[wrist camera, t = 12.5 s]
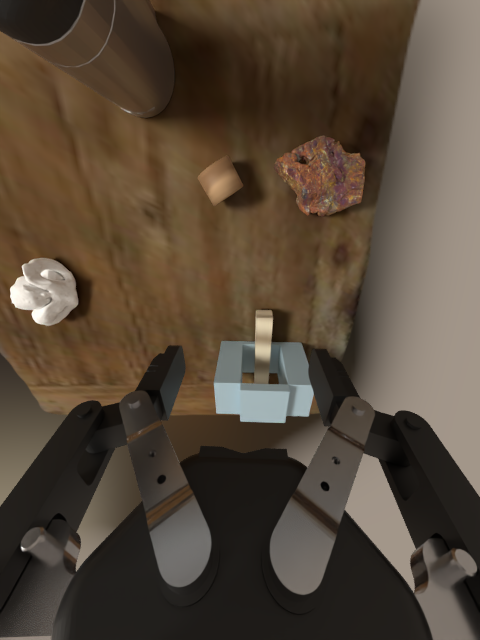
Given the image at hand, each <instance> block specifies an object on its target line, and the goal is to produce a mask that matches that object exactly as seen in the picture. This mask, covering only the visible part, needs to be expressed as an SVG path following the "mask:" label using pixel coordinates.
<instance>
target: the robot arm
mask: <svg viewBox="0 0 480 640" xmlns="http://www.w3.org/2000/svg"><path fill="white" fill-rule="evenodd" d="M0 31H1V32H3V33H4V34H6V35H7V36H9V37H11V38H12V39H14V40H15V41H17V42H18V43H20V44H22V45H23V46H25V47H26V48H28V49H29V50H31V51H33V52H34V53H36V54H37V55H39V56H40V57H42V58H44V59H45V60H47V61H48V62H50V63H51V64H53V65H55V66H56V67H58V68H59V69H61V70H62V71H64V72H66V73H67V74H69V75H70V76H72V77H73V78H75V79H77V80H78V81H80V82H81V83H83V84H84V85H86V86H87V87H89V88H91V89H92V90H94V91H95V92H97V93H98V94H100V95H102V96H103V97H105V98H106V99H108V100H109V101H111V102H112V103H114V104H116V105H117V106H119V107H120V108H121V109H123V110H124V111H126V112H128V113H130V114H132V115H134V116H137V117H142V118H148V117H153V116H155V115H157V114H159V113H160V112H161V111H162V110H164V109H165V107H166V106H167V104H168V103H169V101H170V98H171V96H172V93H173V88H174V80H175V70H174V62H173V58H172V54H171V50H170V47H169V45H168V43H167V40H166V38H165V36H164V34H163V33H162V31H161V29H160V27H159V25H158V24H157V21H156V14H155V10H154V8H153V7H152V5H151V3H150V1H149V0H0ZM184 374H185V360H184V355H183V349H182V346H171V345H169V346H168V347H167V349H166V351H165V353H164V354H161V353H160V354H159V355H157V356H156V357H155V358H154V359H153V360H152V362H151V364H150V367H148V369H147V372H146V373H145V374H144V376H143V378H142V380H141V381H140V383H139V385H138V387H137V388H136V390H135V391H134V392H131V393H129V394H127V395H126V396H125V397H124V398H123V399H122V400H121V401H120V402H119V403H115V404H111V405H107V406H103V407H102V406H101V404H100V403H99V402H98V401H93V400H92V401H87V402H84V403H81V404H79V405H78V406H76V407H75V408H74V409H73V410H72V411H71V412H70V413H69V414H68V416H67V417H66V418H65V420H64V421H63V422H62V424H61V425H60V427H59V428H58V429H57V431H56V432H55V433H54V435H53V436H52V437H51V439H50V440H49V441H48V443H47V444H46V446H45V447H44V448H43V450H42V451H41V452H40V454H39V455H38V456H37V458H36V459H35V460H34V462H33V463H32V464H31V466H30V467H29V469H28V470H27V471H26V473H25V474H24V475H23V477H22V478H21V479H20V481H19V482H18V483H17V485H16V486H15V487H14V489H13V490H12V492H11V493H10V494H9V496H8V497H7V498H6V500H5V501H4V502H3V504H2V505H1V506H0V640H480V497H479V496H478V494H477V493H476V491H475V490H474V488H473V487H472V485H471V484H470V483H469V481H468V480H467V478H466V477H465V476H464V474H463V473H462V471H461V470H460V468H459V467H458V465H457V464H456V463H455V461H454V460H453V458H452V457H451V455H450V454H449V452H448V451H447V450H446V448H445V447H444V445H443V444H442V442H441V441H440V440H439V438H438V437H437V435H436V434H435V432H434V431H433V429H432V428H431V427H430V425H429V424H428V423H427V422H426V421H425V420H424V419H423V418H422V417H420V416H419V415H417V414H415V413H412V412H410V411H398V412H397V413H396V414H395V416H391V415H388V414H385V413H381V412H378V411H375V410H374V409H373V407H372V406H371V405H370V404H369V403H368V402H367V401H365V400H363V399H361V398H360V397H359V395H358V393H357V391H356V389H355V387H354V386H353V384H352V382H351V380H350V378H349V377H348V374H347V372H346V371H345V369H344V367H343V365H342V363H341V362H340V361H338V360H337V359H336V358H330V355H329V353H328V351H327V350H326V349H313V350H312V353H311V358H310V363H309V368H308V375H309V379H310V383H311V386H312V389H313V392H314V395H315V399H316V402H317V405H318V408H319V411H320V415H321V417H322V421H323V424H324V426H330V427H329V428H328V429H327V431H326V433H325V435H324V437H323V439H322V441H321V443H320V445H319V446H318V448H317V450H316V452H315V454H314V456H313V458H312V460H311V462H310V464H309V466H308V468H307V467H306V466H305V465H303V464H302V463H301V462H299V461H297V460H295V459H293V458H290V457H288V455H287V449H269V448H265V449H261V450H256V451H252V452H248V453H240V452H237V451H233V450H230V449H227V448H224V447H214V446H201V447H200V452H199V453H198V454H195V455H192V456H190V457H188V458H186V459H184V460H183V461H181V462H180V463H179V461H178V459H177V456H176V454H175V452H174V449H173V447H172V445H171V443H170V440H169V438H168V436H167V433H166V431H165V429H164V427H163V425H162V422H161V420H168V419H169V416H170V413H171V411H172V408H173V405H174V402H175V399H176V397H177V394H178V391H179V388H180V385H181V382H182V380H183V377H184ZM124 445H128V448H129V452H130V456H131V460H132V464H133V467H134V471H135V474H136V479H137V482H138V486H139V490H140V494H141V498H142V502H141V503H140V504H139V505H138V506H137V507H136V508H135V509H134V510H133V511H132V512H131V513H130V514H129V515H128V516H127V517H126V518H125V519H124V520H123V521H122V522H121V523H120V524H119V526H118V527H117V528H116V529H115V530H114V531H113V532H112V533H111V534H110V535H109V536H108V537H107V538H106V539H105V540H104V541H103V542H102V543H101V544H100V545H99V546H98V547H97V548H96V549H95V550H94V551H93V552H92V554H91V555H90V556H89V557H88V558H87V559H86V560H85V561H84V562H83V564H82V565H81V566H80V568H79V569H78V570H77V572H76V562H77V558H78V555H79V552H80V548H81V538H80V536H79V534H78V533H77V530H78V528H79V525H80V523H81V521H82V519H83V517H84V514H85V512H86V510H87V508H88V506H89V504H90V502H91V499H92V497H93V495H94V493H95V491H96V488H97V486H98V484H99V482H100V480H101V478H102V476H103V473H104V471H105V469H106V467H107V464H108V463H109V460H110V458H111V456H112V453H113V452H114V450H115V448H117V447H120V446H124ZM363 453H365V454H368V455H370V456H373V457H376V458H378V459H379V462H380V464H381V466H382V469H383V471H384V473H385V476H386V478H387V481H388V483H389V485H390V488H391V490H392V492H393V495H394V497H395V500H396V502H397V505H398V507H399V509H400V511H401V514H402V517H403V519H404V521H405V524H406V526H407V528H408V531H409V533H410V536H411V538H412V540H413V543H414V545H415V548H416V550H415V551H414V552H413V553H412V555H411V558H410V566H411V570H412V574H413V578H414V583H415V590H414V593H413V591H412V590H411V588H410V587H409V585H408V584H407V582H406V581H405V580H404V578H403V577H402V576H401V574H400V573H399V572H398V571H397V570H396V569H395V568H394V566H393V565H392V564H391V563H390V562H389V561H388V560H387V558H386V557H385V556H384V555H383V554H382V552H381V551H380V550H379V549H378V548H377V547H376V546H375V544H374V543H373V542H372V541H371V540H370V539H369V537H368V536H367V535H366V534H365V533H364V532H363V530H362V529H361V528H360V527H359V526H358V525H357V523H356V522H355V521H354V520H353V519H352V518H351V516H350V515H349V514H348V513H347V512H346V511H345V510H344V509H345V506H346V503H347V500H348V497H349V494H350V491H351V488H352V486H353V483H354V479H355V477H356V473H357V471H358V468H359V465H360V462H361V459H362V456H363Z"/></svg>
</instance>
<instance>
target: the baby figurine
mask: <svg viewBox="0 0 480 640" xmlns="http://www.w3.org/2000/svg"><path fill="white" fill-rule="evenodd" d="M22 269H23V274H24V276H25V277H24V276H22V277H19V278H17V280H16V283H15V284H14V285H13V286H12V287H11V289H10V292H11V295H10V297H11V299H12V303H14V305H15V307H16V308H19V309H25V310H33V312H32V317H33V319H34V321H35V322H36V323H38V324H44V325H53V324H56V323H59V322H60V321H61V320H62V319H63V318H65V317H66V316H67V315H68V314H69V313H70V311H71V310H73V308H75V307H76V306H77V305H78V297H77V292H76V282H75V278H74V277H73V275H72V273H71V272H70V271H68V269H67V268H66V267H64V266H63V265H62V264H61V263H59V262H57V261H55V260H52V259H48V258H37V259H33V260H31V261H30V262H29V263H28V264H27V263H26V264H23V266H22Z"/></svg>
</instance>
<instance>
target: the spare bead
mask: <svg viewBox="0 0 480 640" xmlns="http://www.w3.org/2000/svg"><path fill="white" fill-rule="evenodd" d="M198 179H199V181H200V183H201V185H202V186H203V188H204V190H205V192H206V194H207V195H208V197H209V199H210V201H211V202H212V204H213V206H215V205H217V204H219V203H220V202H222V201H223V200H225V199H226V198H228V197H229V196H231V195H232V194H234V193H235V192H237V191H238V190H239V189H241V188H242V187H243V184H242V182H241V180H240V178H239V176H238V174H237V172H236V170H235V168H234V166H233V164H232V162H231V160H230V158H229V156H225V157H223V158H221V159H219V160H217V161H216V162H214V163H213V164H212V165H210V166H209V167H208V168H206V169H205V170H204V171H203V172H202V173H201V174H200V175H199V176H198Z"/></svg>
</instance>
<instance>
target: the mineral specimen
mask: <svg viewBox="0 0 480 640" xmlns="http://www.w3.org/2000/svg"><path fill="white" fill-rule="evenodd" d="M334 142H335V140H334V139H333V138H331V137H325V135H323V136H319V137H317V138H315V139H314V140H312V141H309V142H306V143H304V144H302V145H300V146H299V147H297V148H295V149H294V150H292V153H289V152H288V153H285V154H284V155H283V157H281V158H278V159H277V160H276V162H275V166H274V169H275V171H276V172H277V173H279V176H280V177H281V178H283V180H284V182H285V183H286V182H287V184H289V185H290V186H291V189H293V190H294V191H295V192H296V194H297V199H296V203H297V205H298V206H299V209H300V210H301V211H302V212H304V213H305V214H307V216H308V215H309V214H310V213H314V214H315V213H317V214H318V216H325V215H331V214H333V213H335V212H338V211H341V210H344V209H346V208H348V207H350V206H351V205H354V204H358V203H360V202H361V200H362V195H363V189H364V180H365V176H364V172H365V161H364V159H362V158H361V156H360V153H357V154H354V153H352V154H350V153H347V152H345V151H344V150H343V148H342V145H339V143H340V142H339V141H337V142H335V143H334ZM300 160H302V162H303V163H304V164H301V163H299V161H300Z"/></svg>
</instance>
